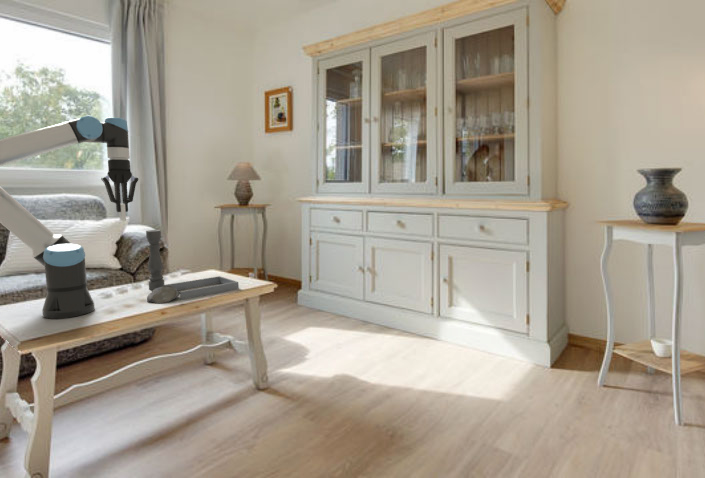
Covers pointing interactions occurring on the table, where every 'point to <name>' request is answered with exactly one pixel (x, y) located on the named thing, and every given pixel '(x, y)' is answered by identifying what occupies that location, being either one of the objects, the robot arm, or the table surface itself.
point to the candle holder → (155, 259)
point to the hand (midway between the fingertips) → (122, 220)
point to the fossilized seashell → (163, 294)
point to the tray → (225, 286)
